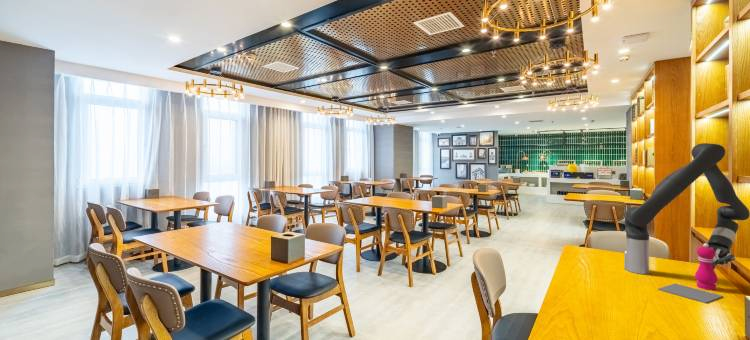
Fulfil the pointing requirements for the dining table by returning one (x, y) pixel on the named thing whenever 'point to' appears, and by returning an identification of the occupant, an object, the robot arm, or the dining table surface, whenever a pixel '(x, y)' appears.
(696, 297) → the charcoal mat
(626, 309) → the dining table surface
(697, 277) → the pepper mill
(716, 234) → the robot arm
